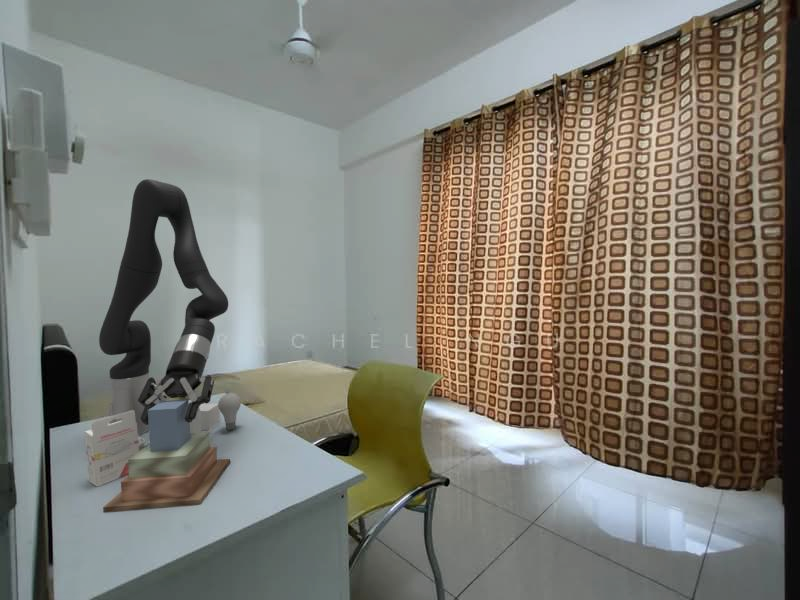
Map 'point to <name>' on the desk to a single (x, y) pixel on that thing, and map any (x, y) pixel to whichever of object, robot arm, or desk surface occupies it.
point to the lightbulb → (229, 409)
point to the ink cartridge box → (111, 447)
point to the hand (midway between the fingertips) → (166, 422)
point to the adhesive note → (209, 416)
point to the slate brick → (168, 425)
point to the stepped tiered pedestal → (170, 476)
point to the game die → (141, 442)
